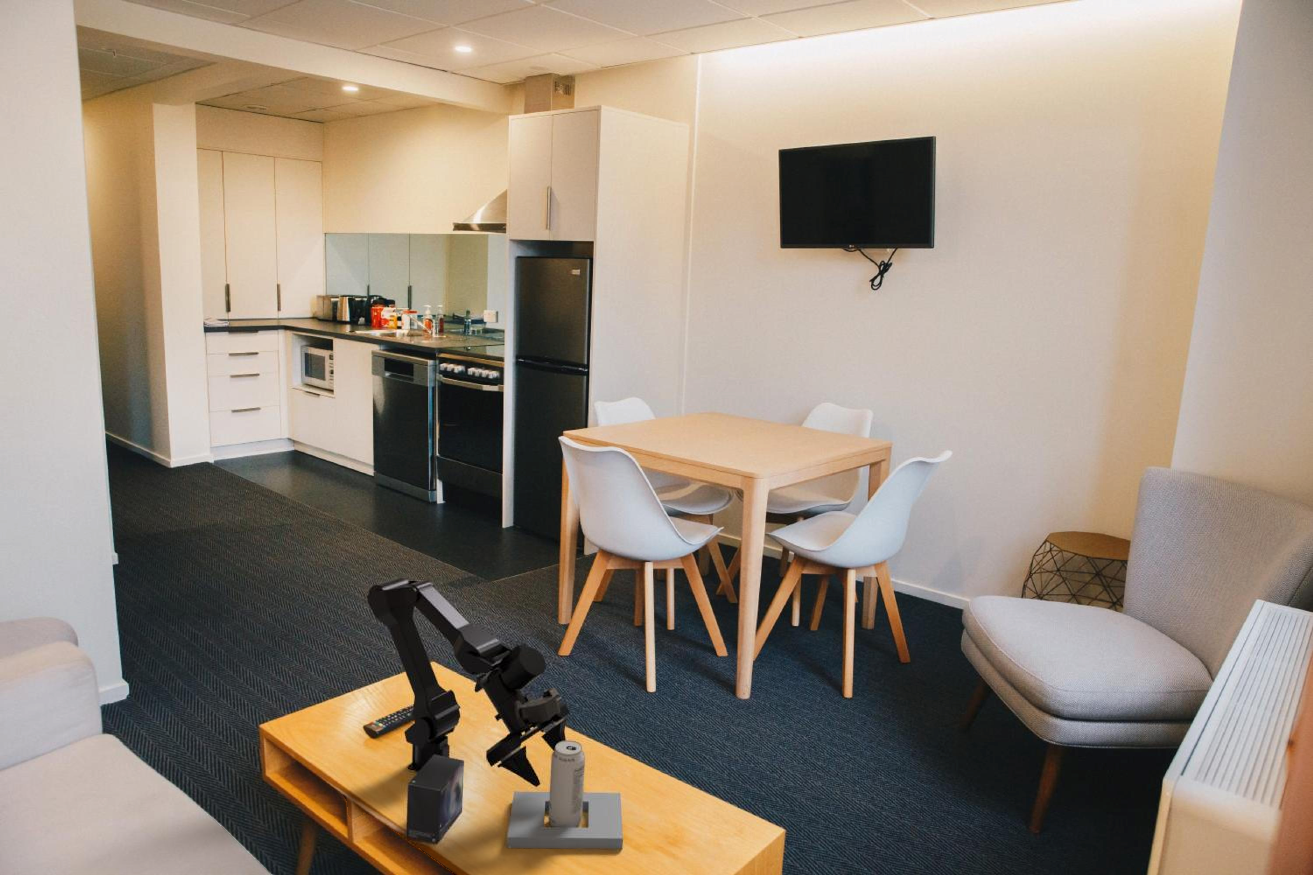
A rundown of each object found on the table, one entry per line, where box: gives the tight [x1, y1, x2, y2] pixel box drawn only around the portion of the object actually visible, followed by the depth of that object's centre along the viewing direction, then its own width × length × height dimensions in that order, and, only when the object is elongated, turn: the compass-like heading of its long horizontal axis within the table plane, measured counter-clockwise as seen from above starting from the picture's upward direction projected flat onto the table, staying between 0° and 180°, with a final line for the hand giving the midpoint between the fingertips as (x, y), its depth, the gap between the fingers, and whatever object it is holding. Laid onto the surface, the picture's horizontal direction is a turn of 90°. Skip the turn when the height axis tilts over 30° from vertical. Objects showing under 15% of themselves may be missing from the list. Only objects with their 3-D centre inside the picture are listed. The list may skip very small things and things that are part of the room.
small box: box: [405, 755, 465, 845], centre depth 155 cm, size 11×6×10 cm, turn 168°
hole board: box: [506, 790, 624, 850], centre depth 158 cm, size 20×14×2 cm
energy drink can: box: [548, 739, 586, 828], centre depth 157 cm, size 6×6×15 cm
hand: (554, 773), depth 159 cm, fingers open, 9 cm apart
